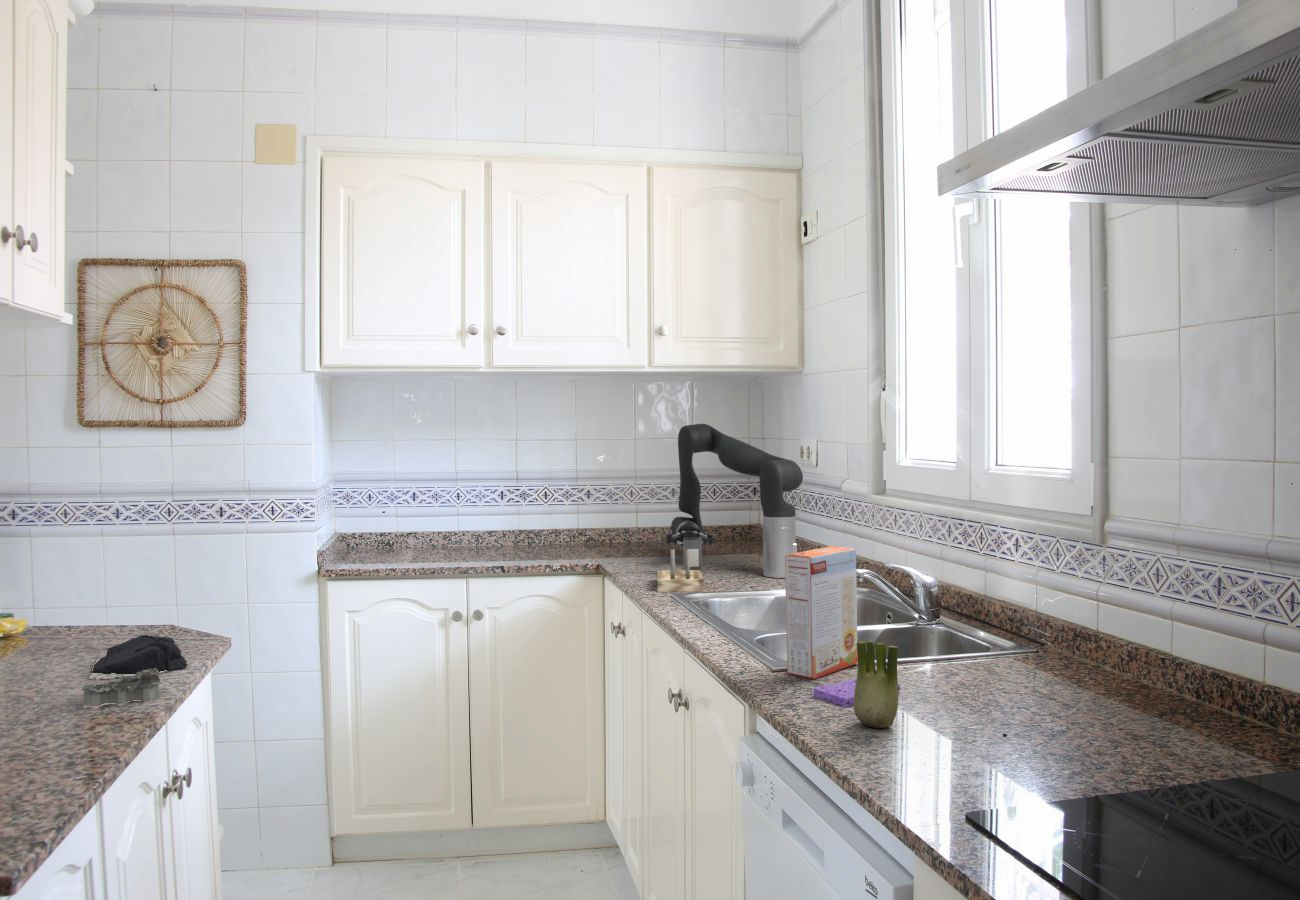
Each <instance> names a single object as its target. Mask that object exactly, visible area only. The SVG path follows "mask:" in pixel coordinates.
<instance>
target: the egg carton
mask: <svg viewBox="0 0 1300 900" xmlns="http://www.w3.org/2000/svg"><path fill="white" fill-rule="evenodd" d="M159 674H160V673H159V671H158V668H154V669H148V670H142V671H140V672H137V673H136V675H135V676H126V677H125V678H119V679H118V680H114V679H110V680H109V681H108V680H107V681H103V682H101V683H97V684H95V685H94V683H93V682H92V683H84V684H83V686H82V689H81V691H83V690H84V692H83V694H82V698H83V706H84V705H91V706H100V705H101V704H104V703H117V704H122V703H126V702H128V701H133V700H141V701H143V702H142V703H146V702H145V701H150V702H152V701H153V699H154V700H157V699H159V698H160V689H159V687H160V685H161V683H162V682H161V679H160V677H159V676H160V675H159ZM151 700H152V701H151Z"/></svg>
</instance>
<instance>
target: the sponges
mask: <svg viewBox="0 0 1300 900" xmlns="http://www.w3.org/2000/svg"><path fill="white" fill-rule="evenodd" d="M856 680H857V678H853V679H850V680H844V681H841V682H840V681H839V682H837V683H830V684H825V685H820V686H815V687H813V696H814V697H816V698H818V699H821V700H825V701H828V702H830V703H834V704H837V705H841V706H844V707H845V708H847V707H852V706H854V693H855V685H856ZM898 691H901V684H898Z"/></svg>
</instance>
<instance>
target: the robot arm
mask: <svg viewBox="0 0 1300 900" xmlns="http://www.w3.org/2000/svg"><path fill="white" fill-rule="evenodd" d="M677 449H678V464H679V478H680V479H679V494H678V496H679V497H678V510H679V511H680V512H682V513H685V514H687V515H690V516H691V517H689V516H688V517H687V516H677V517H674V518H673V519H672V521H671V523H670V524H671V525H670V530H671V532H667V533H666V534H665V536H666V539H665V541H666V544H671V543H672V544H673V545H677V546H678V545H681V546H682V547H683V537H701V540H702V545H703V546H706V545H707V544H714V535H713V533H711V532H707V533H706V534H704V533H703V531H704V530H703V529H704V527H703V523H702V518H701V513H700V511H701V510H700V506H701V505H700V503H701V497H702V495H701V493H702V487H701V483H700V480H699V478H698V476H697V474H696V471H695V469H694V466H693V456H694V454H697V453H698V454H699V453H704V452H709V453H713V454H715V455H717V457H718V460H719V462H720V464H722V466H724V467H725V468H727V469H730V470H732V471H733V472H736V473H739V474H742V475H749V476H754V477H758V478H759V495H760V496H759V498H760V499H759V500H760V506H761V508H762V522H763V523H762V528H763V529H762V539H763V540H762V544H763V545H762V548H763V550H762V551H763V553H762V557H763V559H762V561H763V563H762V565H763V566H762V567H763V568H762V570H763V572H762V573H763V576H764V577H767V578H776V579H777V578H778V579H781V578H782V579H784V578H785V555H787V554H792V553H798V543H797V541H796V540H797V539H796V536H797V535H796V533H797V532H796V525H797V524H796V518H797V517H796V506H795V505H794V504H791V503H789V502H787V501H786V500H785V498H784V493H788V492H792V491H795V490H796V489H798V488H799V487H800V486H801V485H802V483H803V479H804V475H803V472H802V471H803V470H802V469H801V467H800V466H799V464H797V462H795V461H793V460H791V459H787V458H784V457H779V456H775V455H772V454H770V453H768V452H766V451H765V450H762V449H760V448H758V447H755V446H754V445H751V444H749V443H747V442H745V441H743V440H739V439H736V438H735V437H732V436H729V435H726V434H724V433H723V432H721V431H719V430H718V429H716V428H714V427H713V426H711V425H710V424H707V423H695V424H694V423H693V424H689V425H687V424H686V425H684V426H681V428H680V429H679V431H678V436H677ZM785 579H786V578H785Z"/></svg>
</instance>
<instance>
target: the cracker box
mask: <svg viewBox="0 0 1300 900" xmlns="http://www.w3.org/2000/svg"><path fill="white" fill-rule="evenodd" d="M857 601H858V600H857V548H852V547H842V546H837V545H836V546H834V545H833V546H827V547H825V546H824V547H821V548H814V549H810V550H805V551H799V552H798V551H797V553H792V554H787V555H785V610H786V611H785V615H786V618H785V620H786V621H785V622H786V625H785V626H786V664H787V666H786V670H787V671H786V672H787V674H788V675H792V676H797V677H801V678H806V679H811V680H815V679H818V678H821V677H823V676H826V675H829V674H832V673H834V672H837V671H840V670H843V669H846V668H848V667H851V666H854V665H858V654H857V642H858V607H857V606H858V605H857V604H858V602H857Z"/></svg>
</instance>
